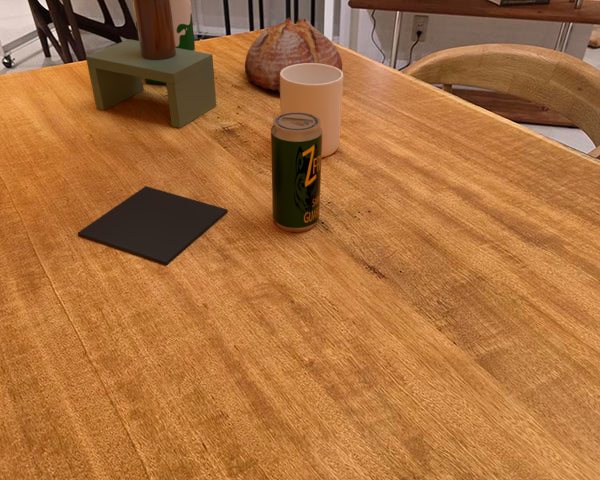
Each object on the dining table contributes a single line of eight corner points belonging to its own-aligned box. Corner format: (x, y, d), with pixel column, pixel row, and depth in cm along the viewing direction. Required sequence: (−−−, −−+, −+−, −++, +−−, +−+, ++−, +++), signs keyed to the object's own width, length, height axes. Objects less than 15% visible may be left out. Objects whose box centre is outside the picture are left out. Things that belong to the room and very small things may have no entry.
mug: (279, 124, 89) (279, 54, 83) (334, 124, 90) (337, 54, 83) (281, 160, 80) (280, 84, 74) (341, 160, 80) (346, 84, 74)
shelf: (96, 108, 93) (85, 56, 88) (136, 88, 100) (128, 39, 95) (179, 128, 88) (173, 73, 83) (216, 105, 95) (212, 54, 90)
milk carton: (189, 88, 101) (174, -46, 88) (138, 84, 101) (116, -49, 89) (202, 71, 107) (191, -56, 94) (154, 68, 108) (137, -58, 95)
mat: (78, 235, 65) (77, 232, 65) (146, 188, 74) (145, 185, 73) (166, 265, 61) (165, 262, 61) (227, 212, 70) (227, 209, 69)
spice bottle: (134, 56, 88) (119, -35, 81) (155, 47, 92) (143, -41, 84) (162, 62, 87) (150, -31, 79) (183, 52, 90) (173, -37, 83)
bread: (314, 62, 115) (319, 6, 109) (355, 98, 100) (363, 35, 94) (232, 65, 110) (232, 6, 104) (263, 103, 95) (266, 37, 89)
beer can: (265, 227, 67) (262, 126, 59) (283, 205, 71) (282, 107, 63) (309, 237, 66) (311, 135, 58) (325, 214, 70) (329, 115, 62)
